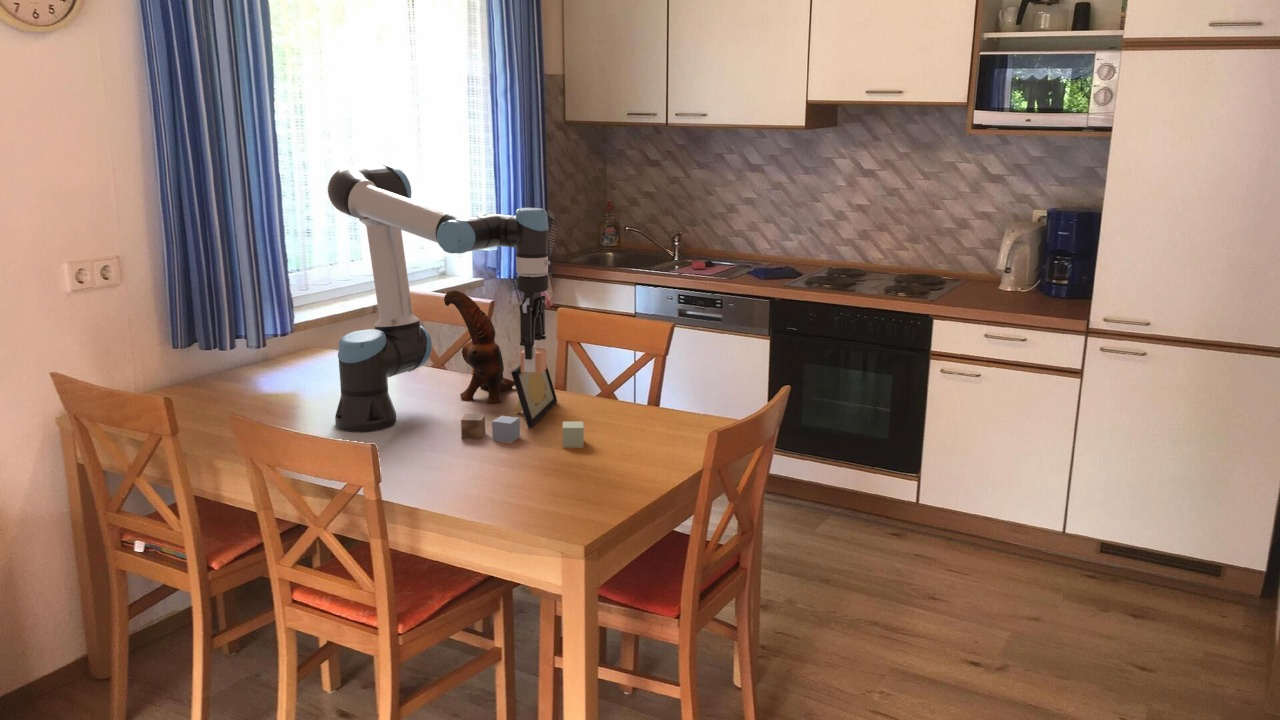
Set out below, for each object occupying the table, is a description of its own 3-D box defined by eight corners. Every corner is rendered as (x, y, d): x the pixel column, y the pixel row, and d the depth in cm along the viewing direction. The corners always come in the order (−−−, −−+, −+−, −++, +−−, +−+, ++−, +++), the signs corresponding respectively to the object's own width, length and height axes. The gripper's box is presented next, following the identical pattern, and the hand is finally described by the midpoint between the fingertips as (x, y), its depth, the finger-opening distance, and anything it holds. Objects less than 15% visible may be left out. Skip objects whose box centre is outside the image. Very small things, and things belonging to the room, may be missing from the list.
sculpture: (440, 396, 281) (437, 291, 274) (485, 382, 296) (483, 282, 289) (490, 407, 271) (487, 298, 264) (533, 392, 286) (532, 289, 279)
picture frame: (532, 427, 254) (525, 370, 251) (499, 428, 256) (491, 372, 253) (557, 402, 276) (551, 350, 273) (527, 403, 278) (520, 351, 275)
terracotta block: (520, 372, 241) (520, 352, 239) (527, 367, 245) (526, 347, 244) (540, 373, 240) (540, 353, 239) (546, 368, 245) (546, 348, 243)
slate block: (492, 440, 245) (492, 421, 243) (501, 434, 249) (501, 415, 248) (511, 443, 243) (510, 423, 242) (519, 437, 248) (519, 417, 246)
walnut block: (461, 439, 245) (461, 419, 244) (465, 432, 250) (464, 413, 249) (481, 439, 245) (481, 420, 244) (485, 433, 250) (484, 414, 249)
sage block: (562, 447, 241) (562, 427, 239) (562, 441, 245) (562, 421, 244) (583, 447, 241) (583, 427, 240) (583, 440, 246) (583, 421, 244)
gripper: (536, 280, 228) (537, 379, 233) (557, 269, 245) (558, 360, 250) (505, 279, 229) (506, 377, 235) (528, 267, 246) (529, 359, 252)
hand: (533, 368), depth 243 cm, fingers closed on terracotta block, 5 cm apart
